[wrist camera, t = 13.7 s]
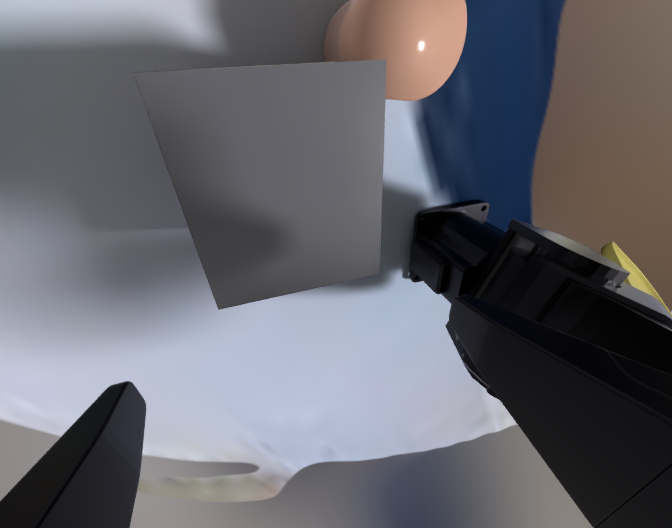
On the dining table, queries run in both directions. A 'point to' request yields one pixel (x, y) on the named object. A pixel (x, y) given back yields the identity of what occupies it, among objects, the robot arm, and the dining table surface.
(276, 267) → the grey box
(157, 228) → the dining table surface
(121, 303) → the dining table surface
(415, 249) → the robot arm
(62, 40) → the dining table surface
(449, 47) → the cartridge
